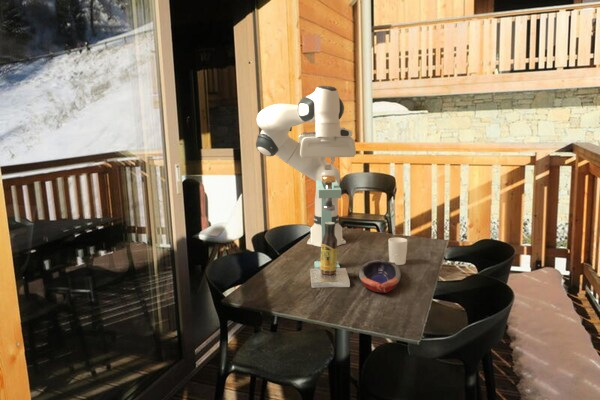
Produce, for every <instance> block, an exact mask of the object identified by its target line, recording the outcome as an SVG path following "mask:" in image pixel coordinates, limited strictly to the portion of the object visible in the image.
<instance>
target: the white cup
mask: <svg viewBox="0 0 600 400" xmlns="http://www.w3.org/2000/svg"><path fill="white" fill-rule="evenodd" d="M407 252H408V239H407V238H405V237H399V236H398V237H390V238H388V259H389V260H388V261H389V262H392V263H393V262H395V264H396V265H397V266H403V265H405V264H406V262H407V261H406V260H407Z"/></svg>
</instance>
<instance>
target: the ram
mask: <svg viewBox="0 0 600 400" xmlns="http://www.w3.org/2000/svg"><path fill="white" fill-rule="evenodd" d="M322 182H324V183H326V189H332V183H333V182H336V176H332V175H326V176H322ZM323 210H325V211H333V210H335V205H332V198H326V205H323Z"/></svg>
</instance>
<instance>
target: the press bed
mask: <svg viewBox="0 0 600 400" xmlns="http://www.w3.org/2000/svg"><path fill="white" fill-rule="evenodd" d="M309 272H310V273H309V274H310V284H311V288H312V289H314V288H350V287H351V281H350V278H349V273H348V271H347V268H345V267H340V268H336V273H335V274H331V275H326V274H323V273H321V268H320V269H315V268H310V271H309Z"/></svg>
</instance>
